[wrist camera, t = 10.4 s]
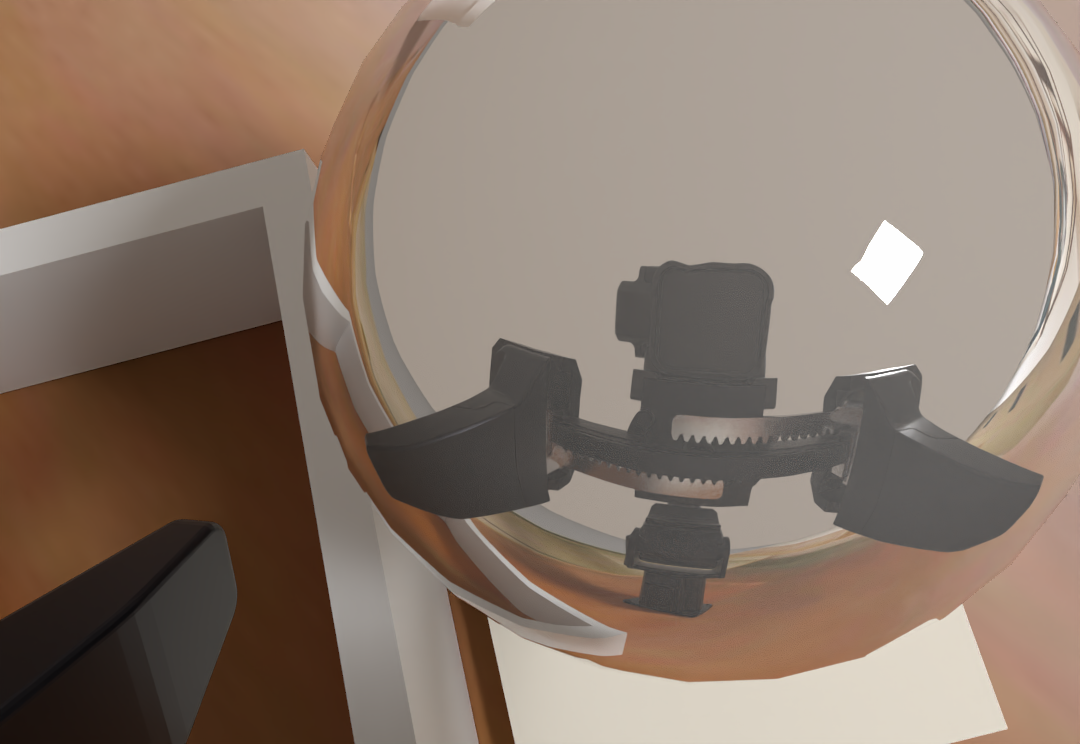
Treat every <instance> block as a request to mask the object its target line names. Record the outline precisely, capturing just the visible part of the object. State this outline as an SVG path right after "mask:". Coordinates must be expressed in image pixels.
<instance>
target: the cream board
mask: <svg viewBox="0 0 1080 744" xmlns="http://www.w3.org/2000/svg"><path fill="white" fill-rule="evenodd" d="M488 622H489V627H490V631H491V636H492V640H493V645H494V649H495V654H496V659H497V663H498V668H499V672H500V677H501V682H502V686H503V691H504V695H505V700H506V704H507V709H508V714H509V718H510V723H511V727H512V732H513V737H514V741H515V744H949V743H953V742H957V741H961V740H965V739H969V738H973V737H977V736H981V735H985V734H989V733H994V732H998V731H1002V730H1006V729H1008V728H1007V726H1006V723H1005V720H1004V717H1003V715H1002V712H1001V709H1000V706H999V704H998V701H997V698H996V695H995V693H994V690H993V687H992V684H991V682H990V679H989V676H988V673H987V671H986V668H985V665H984V662H983V660H982V657H981V654H980V651H979V649H978V646H977V643H976V640H975V638H974V635H973V632H972V629H971V627H970V624H969V621H968V618H967V616H966V613H965V610H964V607H963V605H962V604H961V605H960V606H959V607H957V608H956V609H955V610H954V611H952V612H951V613H950V614H949V615H947V616H946V617H945V618H943V619H941V620H939V621H937V622H935V623H933V624H931V625H929V626H927V627H925V628H923V629H921V630H919V631H917V632H915V633H913V634H911V635H909V636H907V637H905V638H903V639H901V640H899V641H896V642H894V643H892V644H890V645H888V646H886V647H884V648H882V649H880V650H878V651H876V652H874V653H872V654H870V655H868V656H866V657H863V658H859V659H855V660H851V661H847V662H843V663H839V664H835V665H831V666H827V667H823V668H819V669H815V670H811V671H807V672H803V673H799V674H795V675H791V676H787V677H783V678H779V679H774V680H770V681H765V682H738V683H711V684H684V685H683V684H677V683H671V682H665V681H659V680H653V679H647V678H641V677H635V676H629V675H623V674H617V673H611V672H606V671H601V670H598V669H596V668H593V667H590V666H588V665H585V664H583V663H580V662H578V661H575V660H572V659H570V658H567V657H565V656H562V655H559V654H557V653H554V652H552V651H549V650H547V649H544V648H541V647H539V646H536V645H534V644H531V643H529V642H526V641H524V640H523V639H521V638H520V637H518V636H517V635H515V634H514V633H512V632H510V631H509V630H507V629H506V628H504V627H503V626H501V625H500V624H498V623H496V622H495V621H493V620H492V619H490V618H489V617H488Z"/></svg>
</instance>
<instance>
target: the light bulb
mask: <svg viewBox="0 0 1080 744" xmlns="http://www.w3.org/2000/svg"><path fill="white" fill-rule="evenodd" d="M303 302H304V309H305V316H306V323H307V329H308V335H309V341H310V346H311V352H312V358H313V363H314V369H315V374H316V380H317V386H318V391H319V397H320V400H321V403H322V405H323V408H324V410H325V412H326V415H327V417H328V420H329V422H330V425H331V427H332V430H333V432H334V435H335V437H336V440H337V442H338V445H339V447H340V450H341V452H342V455H343V457H344V460H345V462H346V465H347V467H348V469H349V471H350V472H351V474H352V475H353V476H354V478H355V479H356V481H357V482H358V484H359V485H360V487H361V488H362V490H363V491H364V493H365V494H366V496H367V497H368V499H369V500H370V502H371V503H372V505H373V506H374V508H375V509H376V511H377V512H378V514H379V515H380V517H381V518H382V520H383V521H384V523H385V524H386V526H387V527H388V529H389V530H390V532H391V533H392V534H393V535H394V536H395V537H396V538H397V539H398V540H399V541H400V542H401V543H402V544H403V545H404V546H405V547H406V548H407V549H408V550H409V551H410V552H411V553H412V554H413V555H414V556H415V557H416V558H417V559H418V560H419V561H420V562H421V563H422V564H423V565H424V566H425V567H426V568H427V569H428V570H430V571H431V572H432V573H433V574H434V575H435V576H436V577H437V578H438V579H439V580H440V581H441V582H442V583H443V584H444V585H445V586H446V587H447V588H448V589H449V590H450V591H451V592H452V593H453V594H455V595H456V596H457V597H458V598H459V599H461V600H462V601H464V602H465V603H467V604H468V605H470V606H472V607H473V608H475V609H476V610H478V611H479V612H481V613H482V614H484V615H486V616H487V617H489V618H490V619H492V620H493V621H495V622H496V623H498V624H500V625H501V626H503V627H504V628H506V629H507V630H509V631H510V632H512V633H514V634H515V635H517V636H518V637H520V638H521V639H523V640H524V641H526V642H529V643H531V644H534V645H536V646H539V647H541V648H544V649H547V650H549V651H552V652H554V653H557V654H559V655H562V656H565V657H567V658H570V659H572V660H575V661H578V662H580V663H583V664H585V665H588V666H590V667H593V668H596V669H598V670H601V671H606V672H611V673H617V674H623V675H629V676H635V677H641V678H647V679H653V680H659V681H665V682H671V683H677V684H683V685H684V684H711V683H738V682H765V681H770V680H774V679H779V678H783V677H787V676H791V675H795V674H799V673H803V672H807V671H811V670H815V669H819V668H823V667H827V666H831V665H835V664H839V663H843V662H847V661H851V660H855V659H859V658H863V657H866V656H868V655H870V654H872V653H874V652H876V651H878V650H880V649H882V648H884V647H886V646H888V645H890V644H892V643H894V642H896V641H899V640H901V639H903V638H905V637H907V636H909V635H911V634H913V633H915V632H917V631H919V630H921V629H923V628H925V627H927V626H929V625H931V624H933V623H935V622H937V621H939V620H941V619H943V618H945V617H946V616H947V615H949V614H950V613H951V612H952V611H954V610H955V609H956V608H957V607H959V606H960V605H961V604H962V603H964V602H965V601H966V600H967V599H969V598H970V597H971V596H972V595H974V594H975V593H976V592H977V591H979V590H980V589H981V588H982V587H984V586H985V585H986V584H987V583H989V582H990V581H991V580H992V579H994V578H995V577H996V576H997V575H999V574H1000V573H1001V572H1002V571H1004V570H1005V569H1006V568H1007V567H1009V566H1010V565H1011V564H1012V563H1013V562H1014V560H1015V559H1016V558H1017V557H1018V555H1019V554H1020V553H1021V552H1022V550H1023V549H1024V548H1025V547H1026V545H1027V544H1028V543H1029V542H1030V540H1031V539H1032V538H1033V537H1034V535H1035V534H1036V533H1037V532H1038V530H1039V529H1040V528H1041V527H1042V525H1043V524H1044V523H1045V522H1046V520H1047V519H1048V518H1049V517H1050V515H1051V514H1052V513H1053V512H1054V510H1055V509H1056V508H1057V507H1058V505H1059V504H1060V503H1061V502H1062V500H1063V499H1064V498H1065V496H1066V495H1067V493H1068V492H1069V490H1070V489H1071V487H1072V485H1073V484H1074V482H1075V481H1076V479H1077V478H1078V476H1079V475H1080V52H1079V51H1078V50H1077V48H1076V47H1075V46H1074V44H1073V43H1072V42H1071V41H1070V39H1069V38H1068V37H1067V35H1066V34H1065V33H1064V31H1063V30H1062V29H1061V27H1060V26H1059V25H1058V24H1057V22H1056V21H1055V20H1054V18H1053V17H1052V16H1051V14H1050V13H1049V12H1048V10H1047V9H1046V8H1045V7H1044V5H1043V4H1042V3H1041V1H1040V0H408V1H407V2H406V3H405V4H404V5H403V6H402V8H401V9H400V10H399V12H398V13H397V14H396V16H395V17H394V19H393V20H392V21H391V23H390V24H389V26H388V27H387V28H386V30H385V31H384V33H383V34H382V35H381V37H380V38H379V40H378V41H377V42H376V44H375V45H374V47H373V48H372V49H371V51H370V52H369V54H368V55H367V56H366V58H365V59H364V61H363V62H362V64H361V66H360V69H359V71H358V73H357V75H356V77H355V79H354V82H353V84H352V86H351V88H350V90H349V93H348V95H347V97H346V99H345V101H344V103H343V106H342V108H341V110H340V112H339V114H338V116H337V119H336V121H335V123H334V125H333V128H332V130H331V133H330V135H329V138H328V140H327V143H326V145H325V148H324V150H323V153H322V155H321V159H320V163H319V168H318V172H317V176H316V180H315V184H314V189H313V193H312V197H311V201H310V205H309V210H308V214H307V218H306V222H305V240H304V271H303Z"/></svg>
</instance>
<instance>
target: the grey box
mask: <svg viewBox="0 0 1080 744" xmlns="http://www.w3.org/2000/svg"><path fill="white" fill-rule="evenodd" d="M317 172H318V169H317V168H316V166H315V165H314V163H313V162H312V160H311V159H310V157H309V156H308V154H307V153H306V151H305V150H304V149H301V150H297V151H294V152H290V153H286V154H282V155H279V156H275V157H271V158H267V159H264V160H260V161H256V162H252V163H248V164H245V165H241V166H237V167H233V168H230V169H226V170H222V171H218V172H214V173H211V174H207V175H203V176H199V177H196V178H192V179H188V180H184V181H180V182H177V183H173V184H169V185H165V186H162V187H158V188H154V189H150V190H146V191H143V192H139V193H135V194H131V195H128V196H124V197H120V198H116V199H112V200H109V201H105V202H101V203H97V204H94V205H90V206H86V207H82V208H79V209H75V210H71V211H67V212H63V213H60V214H56V215H52V216H48V217H45V218H41V219H37V220H33V221H29V222H26V223H22V224H18V225H14V226H11V227H7V228H3V229H0V394H1V393H5V392H8V391H12V390H16V389H20V388H24V387H28V386H31V385H35V384H39V383H43V382H47V381H51V380H54V379H58V378H62V377H66V376H70V375H74V374H77V373H81V372H85V371H89V370H93V369H97V368H100V367H104V366H108V365H112V364H116V363H120V362H123V361H127V360H131V359H135V358H139V357H142V356H146V355H150V354H154V353H158V352H162V351H165V350H169V349H173V348H177V347H181V346H185V345H188V344H192V343H196V342H200V341H204V340H208V339H211V338H215V337H219V336H223V335H227V334H231V333H234V332H238V331H242V330H246V329H250V328H254V327H257V326H261V325H265V324H269V323H273V322H276V321H280V320H282V322H283V328H284V334H285V339H286V345H287V351H288V357H289V363H290V369H291V374H292V380H293V386H294V392H295V398H296V404H297V409H298V415H299V421H300V427H301V433H302V439H303V445H304V450H305V456H306V462H307V468H308V474H309V480H310V485H311V491H312V497H313V503H314V509H315V515H316V520H317V526H318V532H319V538H320V544H321V550H322V555H323V561H324V567H325V573H326V579H327V585H328V591H329V596H330V602H331V608H332V614H333V620H334V626H335V631H336V637H337V643H338V649H339V655H340V661H341V666H342V672H343V678H344V684H345V690H346V696H347V701H348V707H349V713H350V719H351V725H352V731H353V736H354V742H355V744H479V742H478V738H477V733H476V728H475V723H474V718H473V713H472V709H471V704H470V699H469V694H468V689H467V685H466V680H465V675H464V670H463V665H462V660H461V656H460V651H459V646H458V641H457V636H456V632H455V627H454V622H453V617H452V612H451V607H450V603H449V598H448V593H447V588H446V586H445V585H444V584H443V583H442V582H441V581H440V580H439V579H438V578H437V577H436V576H435V575H434V574H433V573H432V572H431V571H430V570H428V569H427V568H426V567H425V566H424V565H423V564H422V563H421V562H420V561H419V560H418V559H417V558H416V557H415V556H414V555H413V554H412V553H411V552H410V551H409V550H408V549H407V548H406V547H405V546H404V545H403V544H402V543H401V542H400V541H399V540H398V539H397V538H396V537H395V536H394V535H393V534H392V533H391V532H390V530H389V529H388V527H387V526H386V524H385V523H384V521H383V520H382V518H381V517H380V515H379V514H378V512H377V511H376V509H375V508H374V506H373V505H372V503H371V502H370V500H369V499H368V497H367V496H366V494H365V493H364V491H363V490H362V488H361V487H360V485H359V484H358V482H357V481H356V479H355V478H354V476H353V475H352V474H351V472H350V471H349V469H348V467H347V465H346V462H345V460H344V457H343V455H342V452H341V450H340V447H339V445H338V442H337V440H336V437H335V435H334V432H333V430H332V427H331V425H330V422H329V420H328V417H327V415H326V412H325V410H324V408H323V405H322V403H321V400H320V397H319V391H318V386H317V380H316V374H315V369H314V363H313V358H312V352H311V346H310V341H309V335H308V329H307V323H306V316H305V309H304V302H303V271H304V240H305V222H306V218H307V214H308V210H309V205H310V201H311V197H312V193H313V189H314V184H315V180H316V176H317Z"/></svg>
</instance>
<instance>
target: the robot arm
mask: <svg viewBox="0 0 1080 744" xmlns="http://www.w3.org/2000/svg"><path fill="white" fill-rule="evenodd" d="M236 603H237V586H236V581H235V576H234V571H233V566H232V562H231V557H230V552H229V548H228V543H227V538H226V535H225V532H224V530H223V528H222V527H221V526H220V525H219V524H217V523H215V522H209V521H198V520H187V519H181V520H175V521H173V522H171V523H169V524H167V525H165V526H163V527H161V528H160V529H158V530H156V531H154V532H153V533H151V534H149V535H148V536H146V537H144V538H142V539H141V540H139V541H137V542H135V543H134V544H132V545H130V546H128V547H127V548H125V549H123V550H121V551H120V552H118V553H116V554H114V555H113V556H111V557H109V558H107V559H106V560H104V561H102V562H100V563H99V564H97V565H95V566H93V567H92V568H90V569H88V570H87V571H85V572H83V573H81V574H80V575H78V576H76V577H74V578H73V579H71V580H69V581H67V582H66V583H64V584H62V585H60V586H59V587H57V588H55V589H53V590H52V591H50V592H48V593H46V594H45V595H43V596H41V597H39V598H38V599H36V600H34V601H32V602H31V603H29V604H27V605H26V606H24V607H22V608H20V609H19V610H17V611H15V612H13V613H12V614H10V615H8V616H6V617H5V618H3V619H1V620H0V744H186V742H187V740H188V737H189V735H190V732H191V729H192V727H193V724H194V721H195V718H196V716H197V713H198V710H199V708H200V705H201V702H202V699H203V697H204V694H205V691H206V689H207V686H208V683H209V681H210V678H211V675H212V672H213V670H214V667H215V664H216V662H217V659H218V656H219V653H220V651H221V648H222V645H223V643H224V640H225V637H226V634H227V632H228V629H229V626H230V624H231V621H232V618H233V615H234V612H235V608H236Z"/></svg>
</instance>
